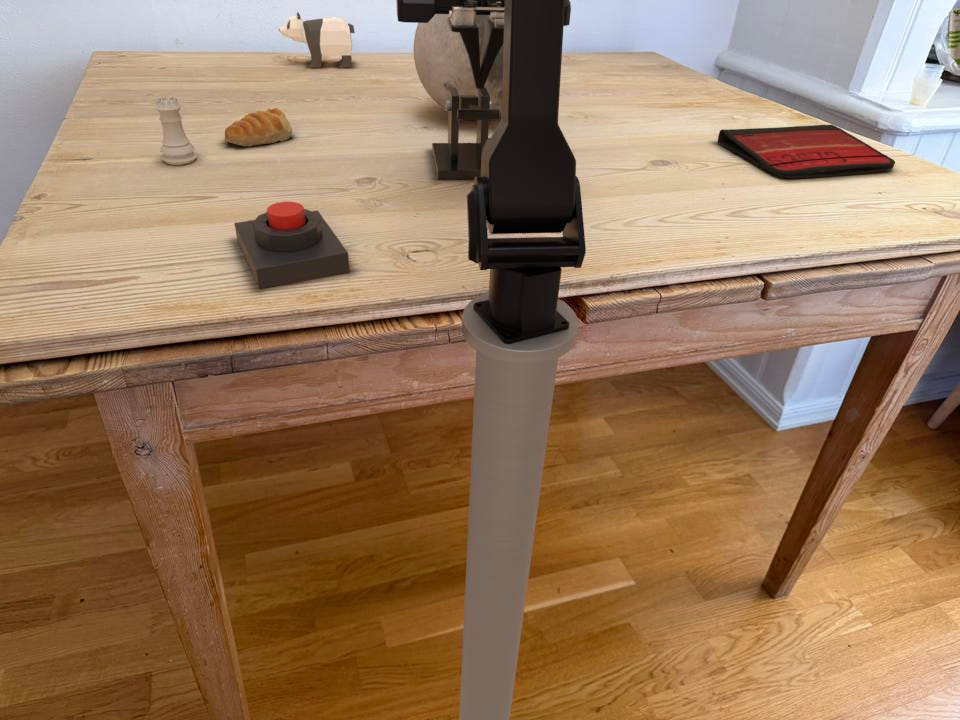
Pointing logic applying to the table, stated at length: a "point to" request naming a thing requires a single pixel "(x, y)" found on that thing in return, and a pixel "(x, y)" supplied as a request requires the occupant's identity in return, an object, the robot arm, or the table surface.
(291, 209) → the button
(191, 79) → the table surface
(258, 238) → the button box
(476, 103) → the lever
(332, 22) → the giant panda
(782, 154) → the binder
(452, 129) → the bracket
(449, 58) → the moon model
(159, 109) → the rook chess piece
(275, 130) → the pastry
